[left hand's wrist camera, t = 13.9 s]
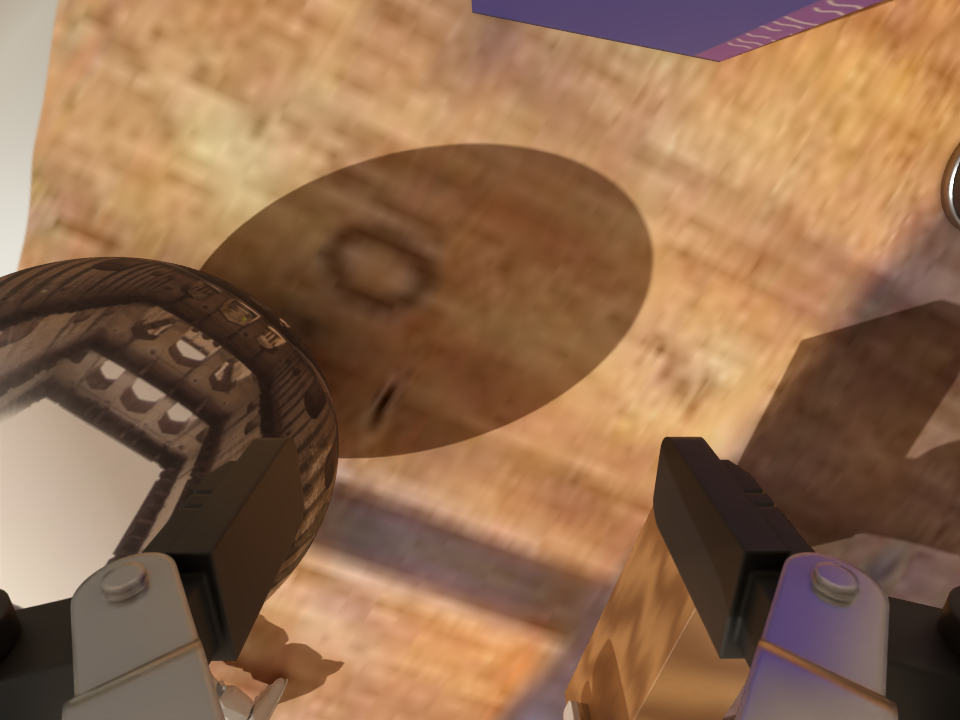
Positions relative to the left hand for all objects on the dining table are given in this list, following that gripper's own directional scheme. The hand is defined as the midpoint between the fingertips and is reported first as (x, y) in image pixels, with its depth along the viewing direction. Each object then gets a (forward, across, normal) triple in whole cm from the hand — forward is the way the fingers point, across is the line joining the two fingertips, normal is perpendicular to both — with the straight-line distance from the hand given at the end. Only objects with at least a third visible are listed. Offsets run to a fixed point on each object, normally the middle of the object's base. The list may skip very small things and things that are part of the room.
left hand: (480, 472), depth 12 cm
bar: (+21, +13, -25) cm, 35 cm away
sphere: (+32, -22, -12) cm, 41 cm away
